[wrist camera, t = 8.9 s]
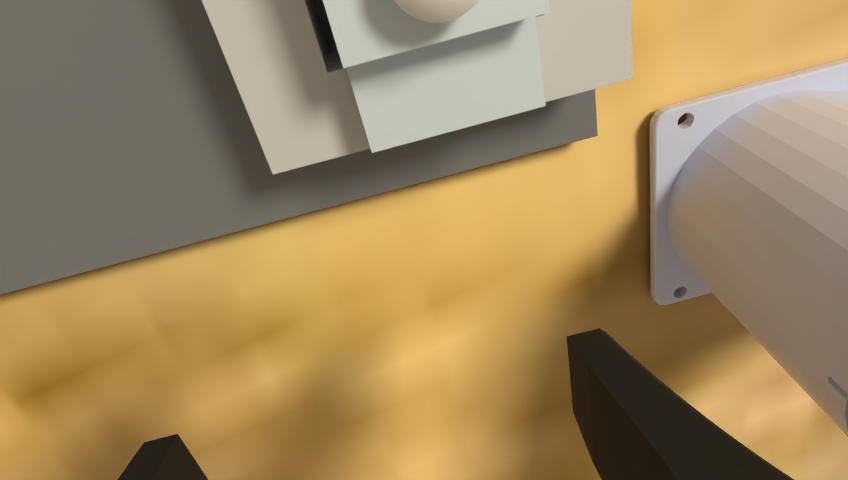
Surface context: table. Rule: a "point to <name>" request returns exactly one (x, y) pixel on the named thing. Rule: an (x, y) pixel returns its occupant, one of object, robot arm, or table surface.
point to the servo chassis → (228, 122)
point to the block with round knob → (437, 63)
